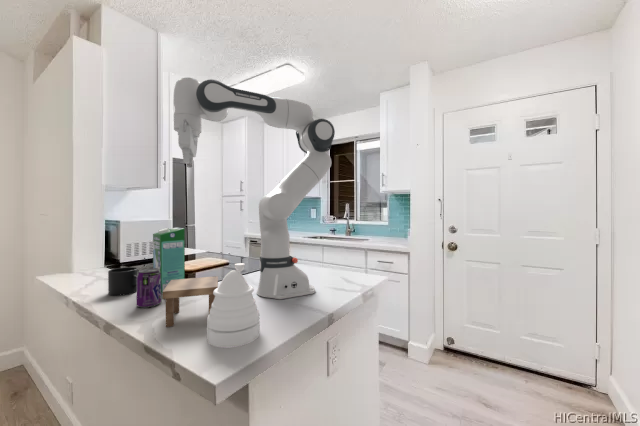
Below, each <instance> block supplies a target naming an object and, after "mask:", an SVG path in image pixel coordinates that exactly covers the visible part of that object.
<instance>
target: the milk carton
mask: <svg viewBox="0 0 640 426" xmlns="http://www.w3.org/2000/svg"><path fill="white" fill-rule="evenodd" d="M185 236H186V235H185V227H173V228H169V227H165V228H162V229H159V230H158V232H155V233H152V268H158V269H159V271H160V273H161V294H163V290H164V289H165V288H166V286H167V285H168V283H169V282H170V281H171V280H176V279H186V275H185V274H186V273H185V271H186V269H185V268H186V267H185V265H186V263H185V260H186V259H185V258H186V257H185V256H186V255H185V253H186V251H185V248H186V247H185V244H186V243H185V242H186V240H185Z"/></svg>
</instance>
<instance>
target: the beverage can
mask: <svg viewBox="0 0 640 426" xmlns="http://www.w3.org/2000/svg"><path fill="white" fill-rule="evenodd" d="M136 278H137V291H136V306H137V307H140V308H144V309H146V308H152V307H156V306H157V305H159V304H160V303H161V302H162V293H161V273H160V271H159V269H158V268H153V267H150V268H144V269H140V270H138V275H137V277H136Z"/></svg>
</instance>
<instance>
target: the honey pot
mask: <svg viewBox="0 0 640 426" xmlns="http://www.w3.org/2000/svg"><path fill="white" fill-rule="evenodd" d="M245 265H246V264H245V263H242V262H239V263H234V268H235V269H233V270H230V271H229V272H228V273H226V275H225V276H224V277H223V278H222V280H221V282H220V284H219V285H218V288H216V289H215V290H214V291H213V294H214V295H215V298H214V301H213V303H212V305H211V307H212V308H211V309H210V314H209V313H208V315H207V319H206V341H207V343H208V345H210V346H212V347H215V348H223V349H224V348H228V349H229V348H236V347H241V346H245V345H247V344H250V343H252V342H254V341H256V340H257V338H259V337H260V333H261V327H260V326H261V324H260V323H261V322H260V311H259V310H258V306H257V304H256V299H255V298H254V295H253V292H254V291H255V288H254V287H253V286H252V285H251V284H249V283H248V282H247V280H246V278H245V277H244V276H243V274H242V273H241V272H242V271H244V270H245Z"/></svg>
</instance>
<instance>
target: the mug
mask: <svg viewBox="0 0 640 426" xmlns="http://www.w3.org/2000/svg"><path fill="white" fill-rule="evenodd" d="M138 271H139V270H138V267H134V266H133V267H132V266H130V267H129V266H128V267H127V266H126V267H119V268H113V269H110V270H108V271H107V273H108V274H107V275H108V276H107V277H108V279H107V280H108V282H107V283H108V284H107V287H108V288H107V290H108V292H107V293H108V295H109V296H112V297H115V296H116V297H119V296H120V297H121V296H127V295H131V294H134V293H137V278H136V277H137V275H138V273H139V272H138Z"/></svg>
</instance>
